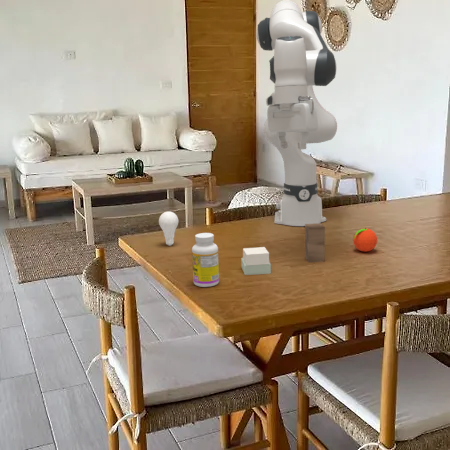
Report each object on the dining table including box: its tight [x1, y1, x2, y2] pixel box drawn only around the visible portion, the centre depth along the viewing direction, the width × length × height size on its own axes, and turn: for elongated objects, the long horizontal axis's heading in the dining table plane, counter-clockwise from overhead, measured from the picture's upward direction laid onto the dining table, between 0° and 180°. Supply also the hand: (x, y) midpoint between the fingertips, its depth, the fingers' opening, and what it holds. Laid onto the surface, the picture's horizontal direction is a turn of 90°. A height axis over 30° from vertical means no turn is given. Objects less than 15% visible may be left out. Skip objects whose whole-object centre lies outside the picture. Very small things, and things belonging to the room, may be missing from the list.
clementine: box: [352, 227, 378, 253], centre depth 175 cm, size 8×7×7 cm
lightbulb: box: [158, 211, 179, 247], centre depth 187 cm, size 6×6×11 cm
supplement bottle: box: [191, 232, 220, 288], centre depth 150 cm, size 7×7×13 cm
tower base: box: [240, 257, 272, 276], centre depth 161 cm, size 7×7×3 cm
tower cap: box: [242, 246, 270, 266], centre depth 160 cm, size 6×6×3 cm
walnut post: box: [304, 222, 326, 263], centre depth 168 cm, size 4×4×10 cm
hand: (292, 148), depth 163 cm, fingers open, 8 cm apart
